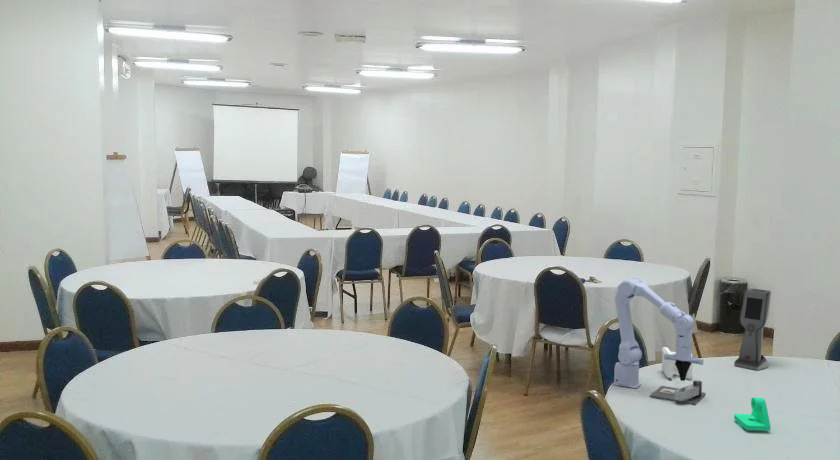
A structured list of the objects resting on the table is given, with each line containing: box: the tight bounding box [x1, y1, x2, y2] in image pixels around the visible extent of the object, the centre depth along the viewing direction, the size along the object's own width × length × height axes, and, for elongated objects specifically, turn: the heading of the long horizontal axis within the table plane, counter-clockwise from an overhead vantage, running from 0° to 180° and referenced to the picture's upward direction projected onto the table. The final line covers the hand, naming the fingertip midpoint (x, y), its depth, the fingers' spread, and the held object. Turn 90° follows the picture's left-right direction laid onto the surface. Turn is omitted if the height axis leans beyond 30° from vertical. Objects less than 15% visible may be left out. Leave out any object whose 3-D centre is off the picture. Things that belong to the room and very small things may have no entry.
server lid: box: [649, 385, 706, 406], centre depth 271 cm, size 17×16×1 cm
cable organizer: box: [661, 346, 694, 380], centre depth 299 cm, size 15×11×12 cm
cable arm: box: [675, 380, 703, 401], centre depth 265 cm, size 16×3×5 cm, turn 130°
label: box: [660, 388, 675, 394], centre depth 274 cm, size 5×5×1 cm
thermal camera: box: [733, 288, 772, 372], centre depth 315 cm, size 12×13×35 cm
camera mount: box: [733, 397, 772, 432], centre depth 236 cm, size 12×8×10 cm, turn 176°
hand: (682, 380), depth 270 cm, fingers closed
